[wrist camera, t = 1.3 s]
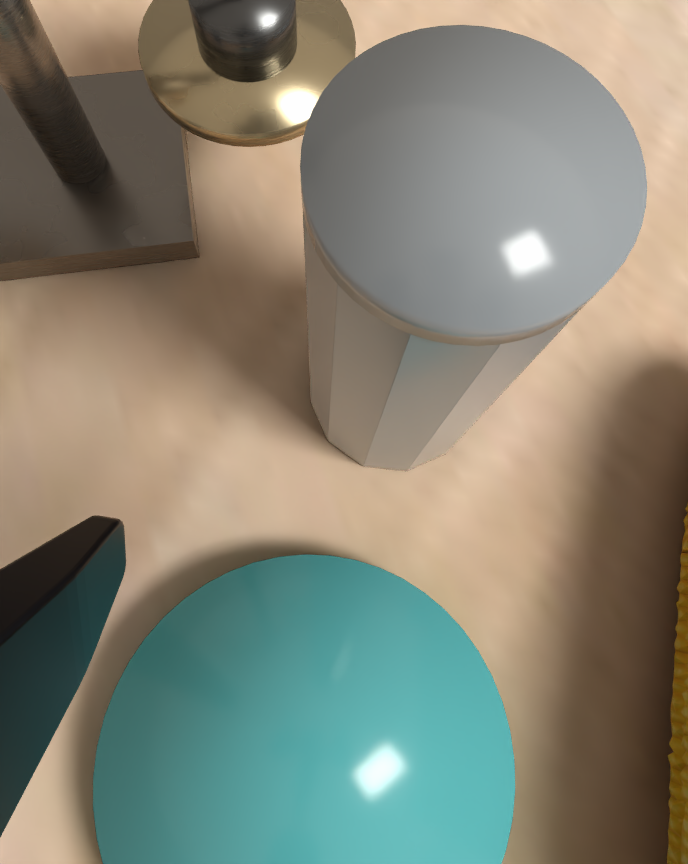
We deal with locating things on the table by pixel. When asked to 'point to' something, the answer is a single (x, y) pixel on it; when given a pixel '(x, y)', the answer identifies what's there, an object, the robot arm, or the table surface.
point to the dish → (305, 728)
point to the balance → (147, 124)
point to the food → (680, 723)
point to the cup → (453, 229)
